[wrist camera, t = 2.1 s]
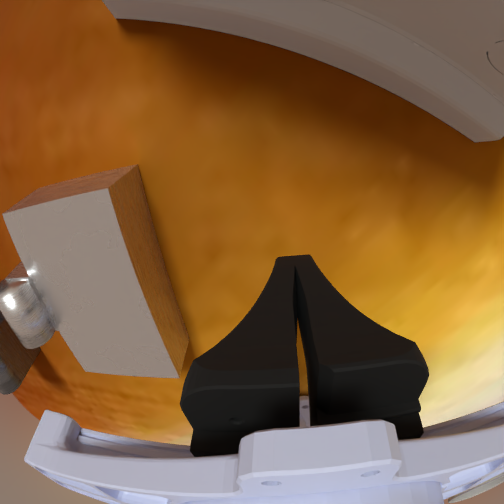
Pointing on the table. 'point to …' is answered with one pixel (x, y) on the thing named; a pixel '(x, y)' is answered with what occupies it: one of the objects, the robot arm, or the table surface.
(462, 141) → the table surface
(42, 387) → the table surface
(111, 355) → the grey boxy piece
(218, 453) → the robot arm
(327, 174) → the table surface
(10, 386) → the fixed leaf
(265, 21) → the grey rounded slab
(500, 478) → the teacup
